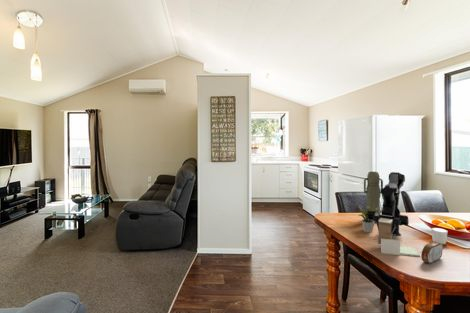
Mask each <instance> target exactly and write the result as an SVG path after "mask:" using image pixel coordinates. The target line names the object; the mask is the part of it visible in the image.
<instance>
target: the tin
mask: <svg viewBox="0 0 470 313" xmlns="http://www.w3.org/2000/svg"><path fill="white" fill-rule="evenodd" d="M443 248H444V244H441V243H439V242H436V241H434V242H433V241H432V242H429V243H426V244H424V245H423V248H422V250H421V255H420V258H421V261H423V262H425V263H428V264H433V263H435V262H436V261H439V260H440V259H441V257H442V256H443Z"/></svg>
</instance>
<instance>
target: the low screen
mask: <svg viewBox="0 0 470 313" xmlns="http://www.w3.org/2000/svg"><path fill="white" fill-rule="evenodd" d="M400 246H401V240H399V239H393V238H392V239H382V238H381V244H380V253H381V254H387V255H395V256H400Z"/></svg>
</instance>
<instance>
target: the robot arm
mask: <svg viewBox="0 0 470 313" xmlns="http://www.w3.org/2000/svg"><path fill="white" fill-rule="evenodd" d="M405 182H406V176H405V174H403V173H401V172H398V171H397V172H395V171H392V172H390V173H389V174H388V183H387V184H385V185H384V186H383V189H382V190H381V189H380V192H381V194H380V195H381V198H382V200H383V201H382V208H381V212H380V213H381V214H378V213H376V212H375V211H370V210H368V211H367V217H368V219H370V220H374V221H375V222H376V227H377V228H378V227H379V218H385V219H392V220H393V224H392V229H391V233H392V236H402V234H401V233H400V226H409V223H410V222H409V216H408V215H405V214H402V213H401V211H400V209H399V205H400V204H399V203H400V194H401V188H402V187H403V186H404V183H405Z"/></svg>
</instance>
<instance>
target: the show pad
mask: <svg viewBox="0 0 470 313" xmlns="http://www.w3.org/2000/svg"><path fill="white" fill-rule="evenodd" d="M400 255H402V256H408V255H410V257H418V258H421V255H420V253H419V252H418V251H417V250H416V248H415V247H409V246H401V245H400ZM400 255H399V256H400Z"/></svg>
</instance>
